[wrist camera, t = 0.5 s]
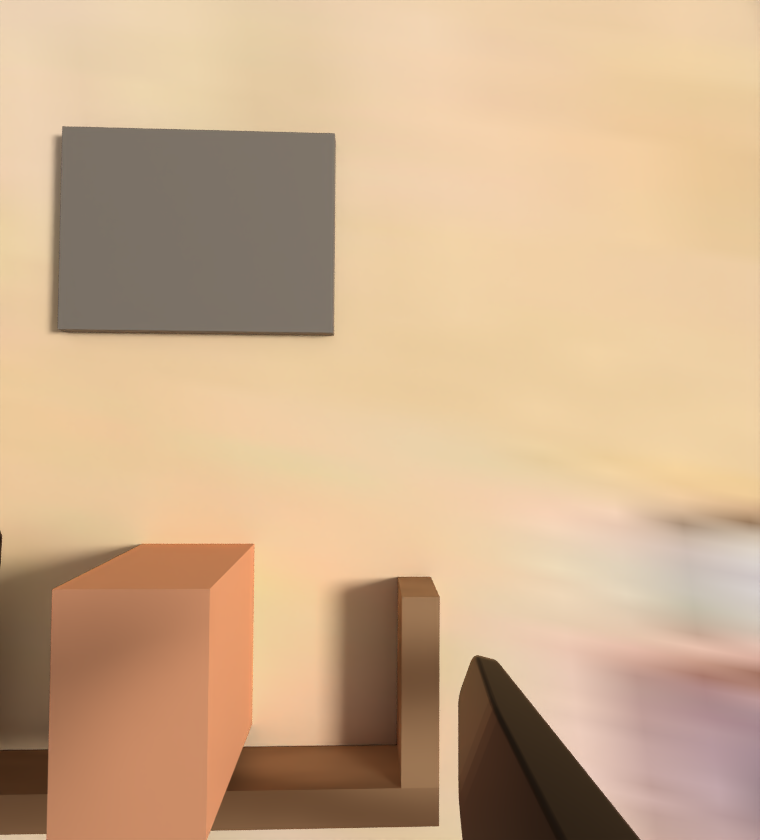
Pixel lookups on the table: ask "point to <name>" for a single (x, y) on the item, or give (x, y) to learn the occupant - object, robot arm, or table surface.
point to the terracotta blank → (149, 692)
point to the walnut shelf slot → (309, 757)
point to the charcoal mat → (196, 231)
